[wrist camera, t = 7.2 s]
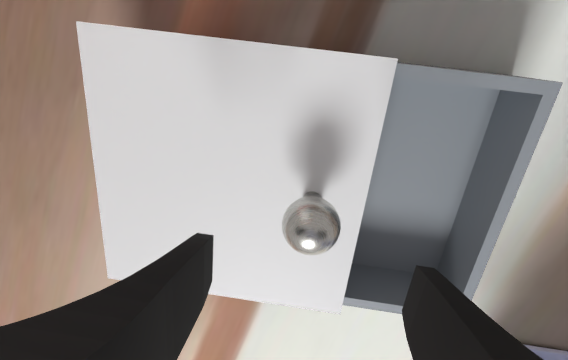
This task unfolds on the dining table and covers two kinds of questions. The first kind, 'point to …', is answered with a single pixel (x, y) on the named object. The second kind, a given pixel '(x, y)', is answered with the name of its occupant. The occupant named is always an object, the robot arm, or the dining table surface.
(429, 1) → the dining table surface
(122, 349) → the robot arm
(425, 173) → the grey shallow tray
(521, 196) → the dining table surface
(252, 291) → the lid
